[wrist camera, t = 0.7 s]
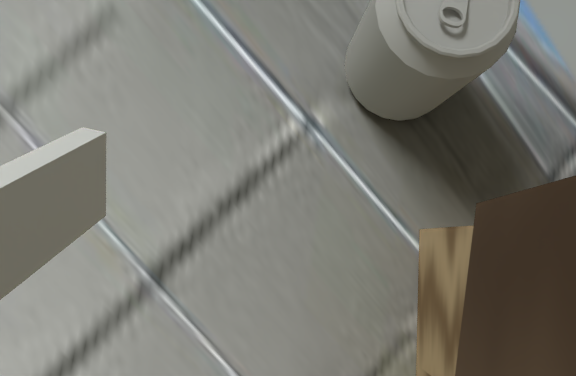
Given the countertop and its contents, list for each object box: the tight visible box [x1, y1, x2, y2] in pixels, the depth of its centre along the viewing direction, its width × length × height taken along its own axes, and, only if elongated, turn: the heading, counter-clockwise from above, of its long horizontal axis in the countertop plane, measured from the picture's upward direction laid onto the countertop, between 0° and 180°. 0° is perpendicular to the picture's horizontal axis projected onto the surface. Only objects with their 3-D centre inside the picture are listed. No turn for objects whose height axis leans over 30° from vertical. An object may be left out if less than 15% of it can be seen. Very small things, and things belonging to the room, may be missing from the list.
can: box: [344, 0, 520, 121], centre depth 32 cm, size 8×8×12 cm
